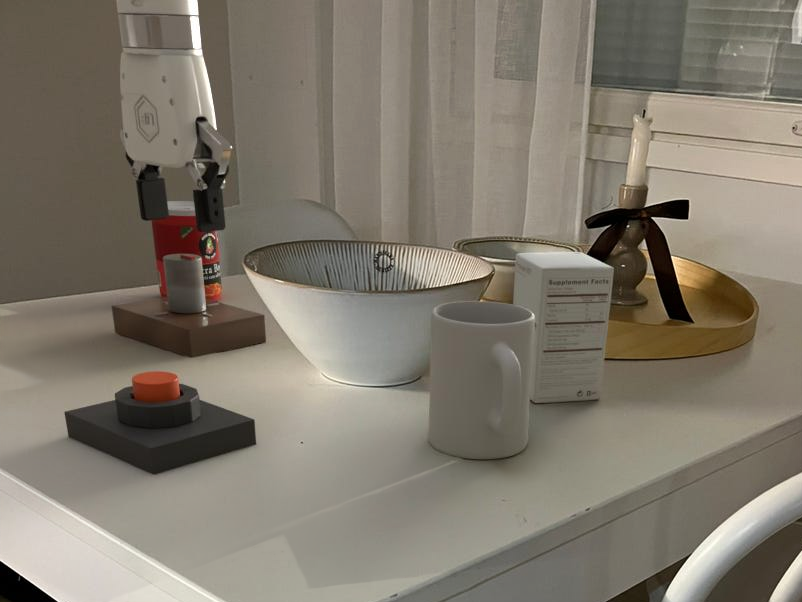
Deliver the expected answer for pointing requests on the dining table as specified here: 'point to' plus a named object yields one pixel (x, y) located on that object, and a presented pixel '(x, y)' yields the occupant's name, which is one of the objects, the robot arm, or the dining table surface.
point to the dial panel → (189, 326)
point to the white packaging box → (565, 322)
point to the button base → (160, 430)
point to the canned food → (187, 245)
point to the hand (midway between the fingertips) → (182, 224)
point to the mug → (480, 378)
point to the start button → (155, 386)
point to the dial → (184, 283)
